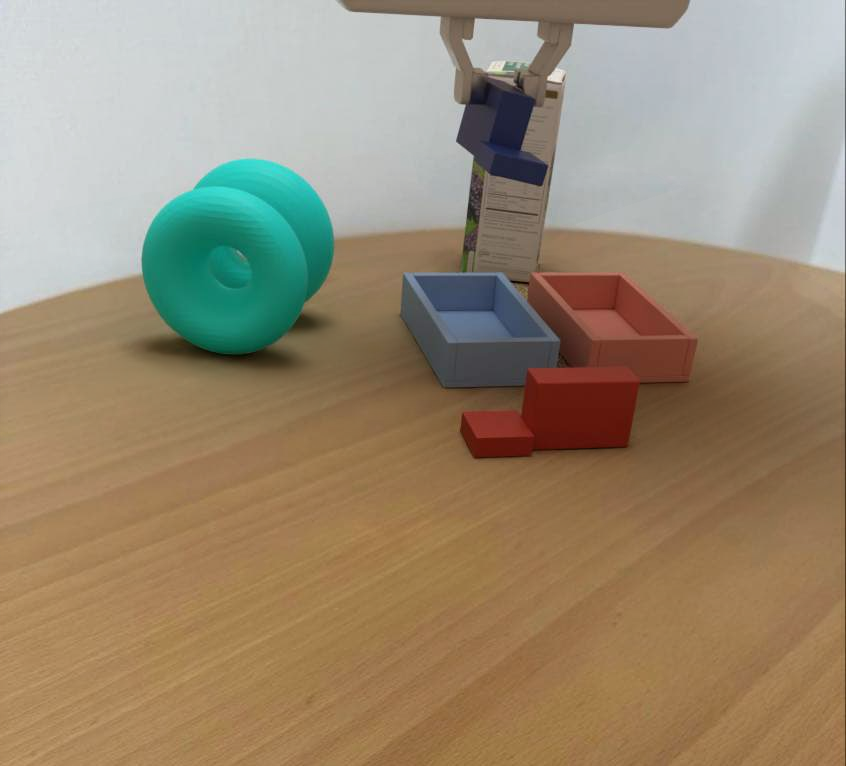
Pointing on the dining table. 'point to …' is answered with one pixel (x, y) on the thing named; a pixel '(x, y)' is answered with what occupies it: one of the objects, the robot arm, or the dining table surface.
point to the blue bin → (476, 328)
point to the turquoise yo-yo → (238, 256)
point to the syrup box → (513, 193)
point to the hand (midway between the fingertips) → (498, 104)
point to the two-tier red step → (558, 413)
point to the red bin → (612, 325)
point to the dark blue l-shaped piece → (501, 134)
